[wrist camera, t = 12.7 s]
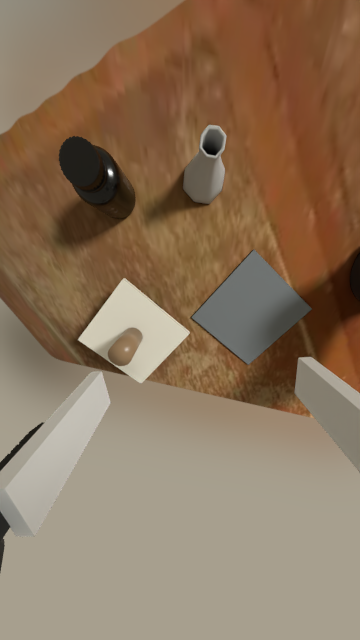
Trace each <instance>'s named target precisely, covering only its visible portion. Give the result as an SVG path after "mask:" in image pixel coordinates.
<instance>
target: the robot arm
mask: <svg viewBox="0 0 360 640" xmlns="http://www.w3.org/2000/svg"><path fill="white" fill-rule="evenodd" d="M350 285H351V289H352V292H353V294H354V295H355V297H356V298H357V299H358V300H359V301H360V253H359V255H358V256H357V258H356V260H355V262H354V264H353V267H352V270H351V276H350ZM295 394H296V396H297V397H298V398H299V399H300V400H301V402H302V403H303V404H304V405H305V407H306V408H307V409H308V410H309V411H310V413H311V414H312V415H313V416H314V417H315V419H316V420H317V421H318V422H319V423H320V425H321V426H322V427H323V428H324V430H325V431H326V432H327V433H328V434H329V436H330V437H331V438H332V439H333V440H334V442H335V443H336V444H337V445H338V446H339V448H340V449H341V450H342V451H343V453H344V454H345V455H346V456H347V457H348V459H349V460H350V461H351V462H352V464H353V465H354V466H355V467H356V468H357V470H358V471H359V472H360V393H358V392H357V391H356V390H354V389H353V388H352V387H350V386H349V385H348V384H347V383H345V382H344V381H343V380H341V379H340V378H339V377H337V376H336V375H335V374H333V373H332V372H331V371H329V370H328V369H327V368H325V367H324V366H323V365H321V364H320V363H319V362H317V361H316V360H315V359H313V358H312V357H301V358H298V366H297V375H296V384H295ZM110 403H111V402H110V399H109V396H108V392H107V388H106V385H105V381H104V378H103V374H102V371H95V372H91V373H90V374H89V375H88V376H87V377H86V378H85V379H84V380H83V381H82V382H81V383H80V385H79V386H78V387H77V388H76V389H75V390H74V391H73V392H72V394H70V395H69V397H68V398H67V399H66V400H65V401H64V402H63V403H62V404H61V405H60V407H59V408H58V409H57V410H56V411H55V412H54V413H53V414H52V415H51V416H50V417H49V419H48V420H47V421H46V422H45V423H41V424H39V425H38V426H37V427H35V428H34V429H33V430H31V431H30V432H29V433H28V434H27V435H26V436H25V437H24V438H23V439H22V440H21V441H20V442H19V445H17V446H16V447H15V448H14V449H13V450H12V451H11V453H10V454H8V455H7V456H6V457H5V458H4V459H3V460H2V461H1V462H0V571H1V564H2V558H3V552H4V539H3V537H4V535H5V534H6V532H7V531H8V529H9V528H11V529H12V531H13V532H14V534H15V535H16V536H35V535H36V534H37V532H38V530H39V528H40V526H41V525H42V523H43V521H44V519H45V517H46V516H47V514H48V512H49V511H50V509H51V507H52V505H53V504H54V502H55V500H56V498H57V496H58V495H59V493H60V491H61V489H62V488H63V486H64V484H65V482H66V480H67V479H68V477H69V475H70V473H71V472H72V470H73V468H74V466H75V465H76V463H77V461H78V459H79V458H80V456H81V454H82V452H83V450H84V449H85V447H86V445H87V444H88V442H89V440H90V438H91V437H92V435H93V433H94V431H95V430H96V428H97V426H98V424H99V422H100V421H101V419H102V417H103V415H104V414H105V412H106V410H107V408H108V407H109V405H110Z"/></svg>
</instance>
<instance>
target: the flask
mask: <svg viewBox="0 0 360 640" xmlns="http://www.w3.org/2000/svg"><path fill="white" fill-rule="evenodd" d="M225 142H226V135H225V133H224V132H223V131H222V129H221V128H220V127H219V126H214V125H208V126H207V128H206V129H205V130H204V131H203V133H202V134H201V137H200V145H199V152H198V153H197V154H196V156H195V157H194V158H193V159H192V161H191V162H190V163H189V164H188V166H187V167H186V168H185V172H184V181H183V190H184V191H185V192H186V193H187V194H188V195H189V197H190V198H191V199H192V200H193V201H194V202H199V203H206V204H210V203H211V202H212V201H213V200H214V199H215V198H216V196H217V195H218V194H219V193H220V192H221V191H222V186H223V181H224V175H225V168H224V166H223V163H222V160H221V156H220V155H221V153H222V152H223V151H224V148H225Z"/></svg>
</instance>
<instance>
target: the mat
mask: <svg viewBox="0 0 360 640" xmlns="http://www.w3.org/2000/svg"><path fill="white" fill-rule="evenodd" d="M310 310H311V308H310V307H309V306H308V304H307V303H306V302H305V301H304V300H303V299H302V298H301V297H300V296H299V295H298V294H297V293H296V292H295V291H294V290H293V289H292V288H291V287H290V286H289V285H288V284H287V283H286V282H285V281H284V280H283V279H282V278H281V277H280V276H279V275H278V274H277V273H276V272H275V271H274V270H273V269H272V267H271V266H270V265H269V264H268V263H267V262H266V261H265V260H264V259H263V258H262V257H261V256H260V255H259V254H258V253H257V252H256V251H255V250H253V251H252V252H251V253H250V254H249V255H248V256H247V257H246V258H245V259H244V260H243V262H242V263H241V264H240V265H239V266H238V267H237V268H236V269H235V270H234V271H233V272H232V274H231V275H230V276H229V277H228V278H227V279H226V280H225V281H224V282H223V283H222V284H221V285H220V287H219V288H218V289H217V290H216V291H215V292H214V293H213V294H212V295H211V296H210V297H209V299H208V300H207V301H206V302H205V303H204V304H203V305H202V306H201V307H200V308H199V309H198V311H197V312H196V313H195V314H194V315H193V316H192V318H193V319H194V320H195V321H196V322H198V323H199V324H200V325H201V326H202V327H204V328H205V329H206V330H207V331H208V332H210V333H211V334H212V335H213V336H214V337H216V338H217V339H218V340H219V341H220V342H222V343H223V344H224V345H225V346H226V347H228V348H229V349H230V350H231V351H232V352H234V353H235V354H236V355H237V356H238V357H240V358H241V359H242V360H243V361H244V362H246V363H247V364H248V365H249V364H250V363H251V362H252V361H253V360H254V359H256V358H257V357H258V356H259V355H260V354H261V353H262V352H264V351H265V350H266V349H267V348H268V347H269V346H270V345H272V344H273V343H274V342H275V341H276V340H277V339H278V338H280V337H281V336H282V335H283V334H284V333H285V332H286V331H288V330H289V329H290V328H291V327H292V326H293V325H294V324H296V323H297V322H298V321H299V320H300V319H301V318H302V317H304V316H305V315H306V314H307V313H308V312H309V311H310Z"/></svg>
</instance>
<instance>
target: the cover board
mask: <svg viewBox="0 0 360 640" xmlns="http://www.w3.org/2000/svg"><path fill="white" fill-rule="evenodd" d="M189 334H190V332H189V331H188V330H187V329H186V328H185V327H183V326H182V325H181V324H180V323H178V322H177V321H176V320H175V319H174V318H172V317H171V316H170V315H169V314H168V313H166V312H165V311H164V310H163V309H162V308H160V307H159V306H158V305H157V304H156V303H154V302H153V301H152V300H151V299H149V298H148V297H147V296H146V295H145V294H143V293H142V292H141V291H140V290H139V289H137V288H136V287H135V286H134V285H133V284H131V283H130V282H129V281H128V280H126V279H125V278H123V280H122V281H121V282H120V284H119V285H118V286H117V288H116V289H115V290H114V292H113V293H112V294H111V296H110V297H109V298H108V300H107V301H106V302H105V304H104V305H103V306H102V308H101V309H100V310H99V312H98V313H97V315H96V316H95V317H94V319H93V320H92V321H91V323H90V324H89V325H88V327H87V328H86V329H85V331H84V332H83V333H82V335H81V336H80V337H79V339H78V340H79V341H80V342H82V343H83V344H85V345H86V346H87V347H89V348H90V349H92V350H93V351H95V352H96V353H97V354H99V355H100V356H102V357H103V358H105V359H106V360H107V361H109V362H110V363H112V364H113V365H115V366H116V367H118V368H119V369H120V370H122V371H123V372H125V373H126V374H128V375H129V376H130V377H132V378H133V379H135V380H136V381H138V382H139V383H142V382H143V381H144V380H145V379H146V378H147V377H148V376H149V375H150V374H151V373H152V372H153V371H154V370H155V369H156V368H157V367H158V366H159V365H160V364H161V363H162V362H163V360H164V359H165V358H166V357H167V356H168V355H169V354H170V353H171V352H172V351H173V350H174V349H175V348H176V347H177V346H178V345H179V344H180V343H181V342H182V341H183V340H184V339H185V338H186V337H187V336H188V335H189Z"/></svg>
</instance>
